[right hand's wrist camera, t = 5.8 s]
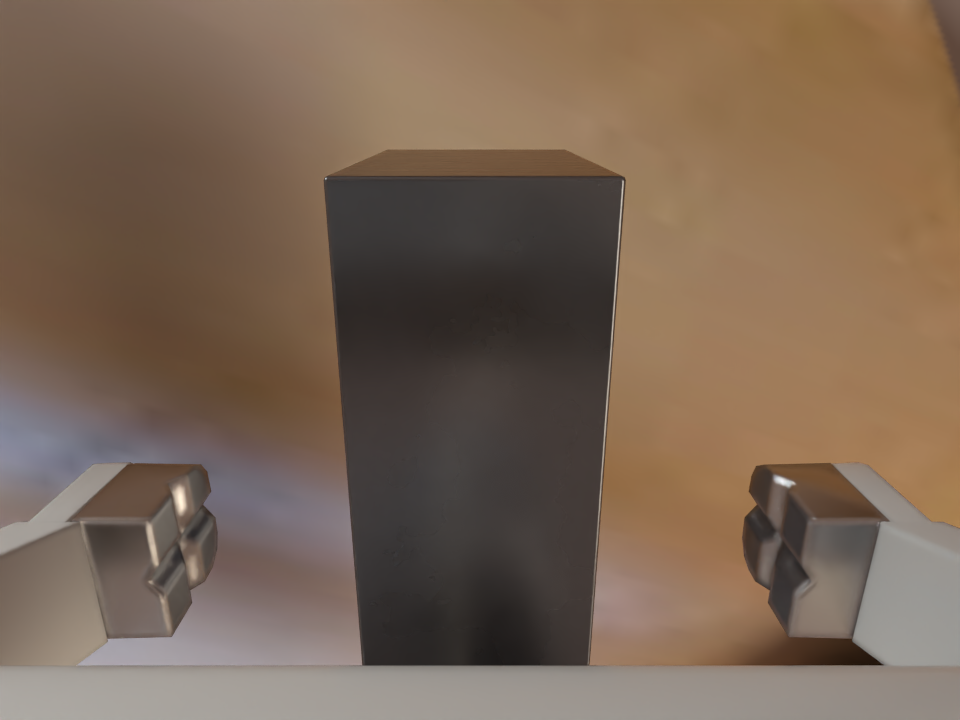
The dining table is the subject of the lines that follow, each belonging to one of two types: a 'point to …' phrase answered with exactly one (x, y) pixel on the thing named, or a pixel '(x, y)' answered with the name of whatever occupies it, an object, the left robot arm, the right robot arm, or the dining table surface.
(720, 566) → the dining table surface
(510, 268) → the bar
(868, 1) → the dining table surface
